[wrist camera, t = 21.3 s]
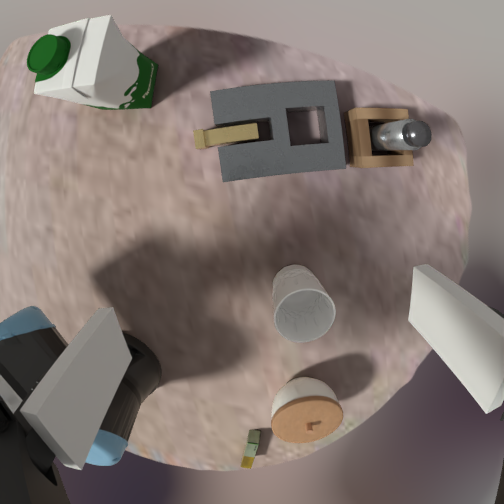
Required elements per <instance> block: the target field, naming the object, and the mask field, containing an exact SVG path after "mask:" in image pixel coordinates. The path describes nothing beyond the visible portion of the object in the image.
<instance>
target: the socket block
mask: <svg viewBox="0 0 504 504" xmlns="http://www.w3.org/2000/svg"><path fill="white" fill-rule="evenodd" d="M210 93H211V101H212V108H213V116H214V123H215V125H216V126H217V127H218V128H219V127H226V126H233V125H240V124H247V123H255V122H264V121H268V122H269V129H270V136H271V140H269V141H260V142H252V143H244V144H237V145H230V146H224V147H218V151H219V158H220V165H221V172H222V179H223V182H228V181H235V180H242V179H249V178H257V177H265V176H273V175H282V174H291V173H301V172H311V171H322V170H334V169H346V162H345V153H344V144H343V135H342V127H341V120H340V113H339V106H338V100H337V93H336V87H335V81H302V82H285V83H272V84H262V85H252V86H244V87H236V88H229V89H223V90H216V91H210ZM315 110H317V115H318V123H319V130H320V138H321V144H309V145H297V146H291V145H290V138H289V130H288V123H287V116H286V112H298V111H315Z"/></svg>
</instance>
